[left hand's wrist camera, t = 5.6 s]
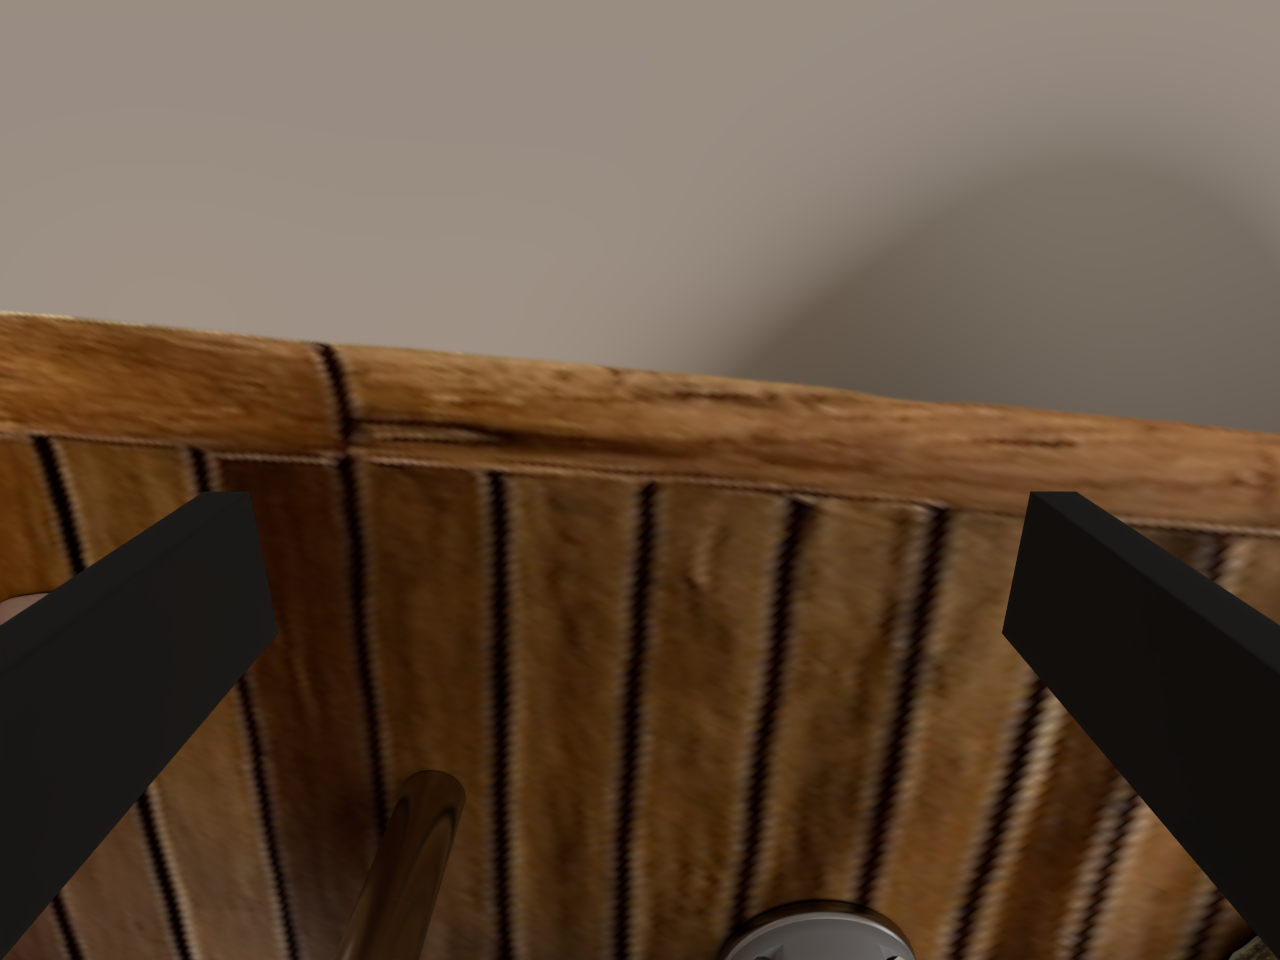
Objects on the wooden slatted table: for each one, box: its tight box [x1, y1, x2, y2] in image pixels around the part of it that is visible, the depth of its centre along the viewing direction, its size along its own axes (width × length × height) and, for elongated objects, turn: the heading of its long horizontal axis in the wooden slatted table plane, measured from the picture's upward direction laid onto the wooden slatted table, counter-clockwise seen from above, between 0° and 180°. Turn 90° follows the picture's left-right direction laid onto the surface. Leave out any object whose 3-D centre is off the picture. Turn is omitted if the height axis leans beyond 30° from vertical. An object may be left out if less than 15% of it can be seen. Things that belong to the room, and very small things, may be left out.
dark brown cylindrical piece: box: [333, 771, 465, 960], centre depth 42 cm, size 4×4×17 cm
